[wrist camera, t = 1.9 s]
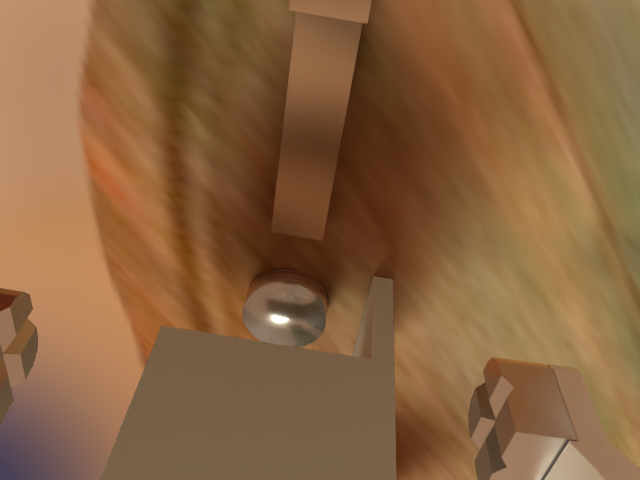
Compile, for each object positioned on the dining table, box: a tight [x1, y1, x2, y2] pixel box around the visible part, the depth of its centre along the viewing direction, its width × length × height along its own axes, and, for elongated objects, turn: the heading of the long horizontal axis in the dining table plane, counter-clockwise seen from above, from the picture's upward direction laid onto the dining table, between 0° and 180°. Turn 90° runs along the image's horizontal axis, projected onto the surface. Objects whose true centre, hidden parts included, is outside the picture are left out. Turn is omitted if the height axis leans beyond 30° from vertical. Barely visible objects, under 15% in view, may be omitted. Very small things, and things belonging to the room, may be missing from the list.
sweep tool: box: [271, 0, 372, 241], centre depth 27 cm, size 18×3×4 cm, turn 172°
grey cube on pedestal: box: [100, 276, 397, 480], centre depth 32 cm, size 7×12×17 cm, turn 82°
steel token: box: [243, 268, 327, 347], centre depth 38 cm, size 5×5×2 cm
